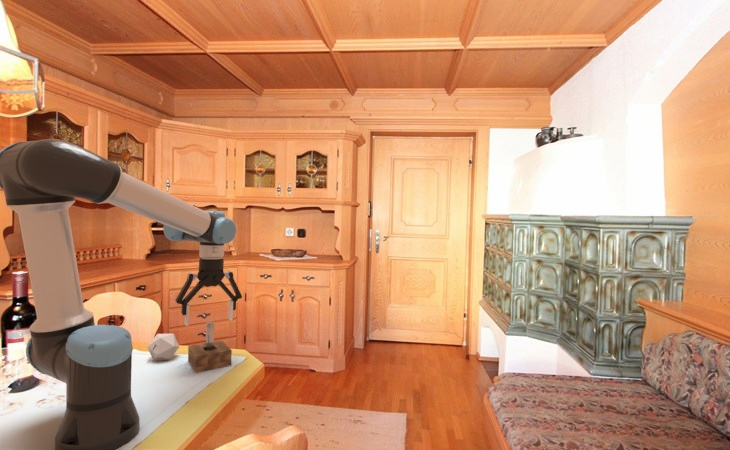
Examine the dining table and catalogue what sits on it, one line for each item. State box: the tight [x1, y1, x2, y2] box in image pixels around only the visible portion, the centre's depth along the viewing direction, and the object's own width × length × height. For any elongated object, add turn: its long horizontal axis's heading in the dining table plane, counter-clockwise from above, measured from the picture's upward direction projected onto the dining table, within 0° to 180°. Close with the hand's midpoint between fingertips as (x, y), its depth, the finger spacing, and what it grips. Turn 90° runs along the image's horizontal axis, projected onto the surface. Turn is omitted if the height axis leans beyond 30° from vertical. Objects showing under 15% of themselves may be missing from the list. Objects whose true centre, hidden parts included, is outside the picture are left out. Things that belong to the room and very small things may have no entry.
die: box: [146, 333, 180, 361], centre depth 128 cm, size 8×9×10 cm
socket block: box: [187, 340, 233, 373], centre depth 125 cm, size 11×11×5 cm
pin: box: [205, 321, 215, 351], centre depth 125 cm, size 2×2×12 cm
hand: (209, 322), depth 124 cm, fingers open, 13 cm apart
